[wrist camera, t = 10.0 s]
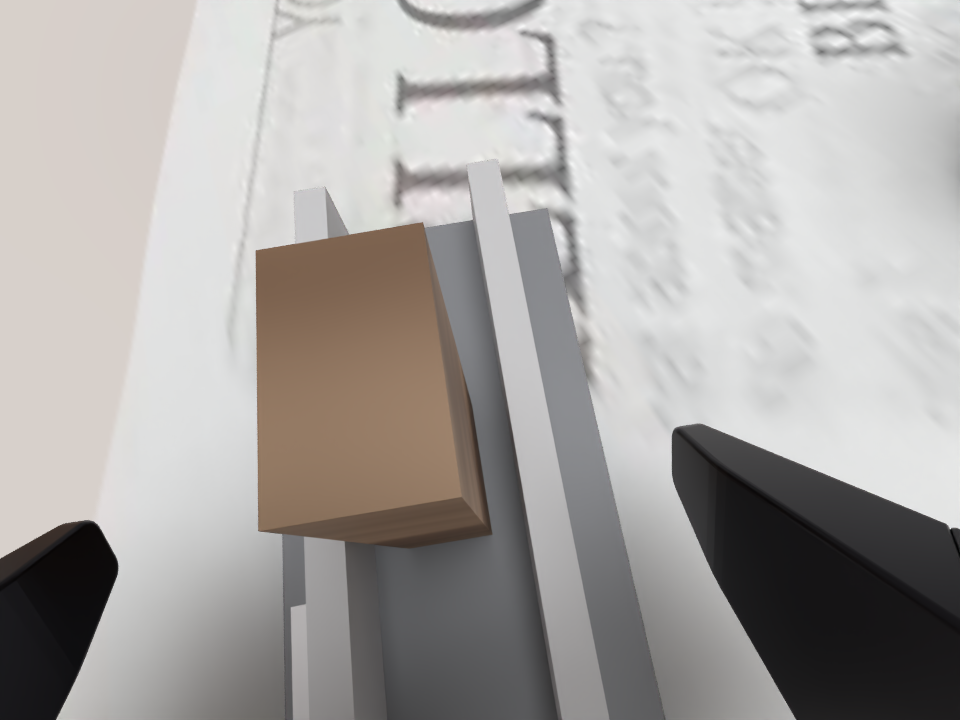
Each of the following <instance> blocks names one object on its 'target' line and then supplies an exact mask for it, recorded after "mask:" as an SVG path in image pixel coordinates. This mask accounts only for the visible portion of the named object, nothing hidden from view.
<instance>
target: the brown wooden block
mask: <svg viewBox="0 0 960 720" xmlns="http://www.w3.org/2000/svg"><path fill="white" fill-rule="evenodd" d="M256 327H257V430H258V531H261V532H270V533H278V534H287V535H296V536H304V537H313V538H321V539H330V540H339V541H347V542H356V543H364V544H373V545H381V546H390V547H399V548H407V549H410V548H416V547H422V546H428V545H434V544H440V543H446V542H452V541H458V540H464V539H470V538H476V537H481V536H487V535H493V534H492V528H491V522H490V515H489V509H488V503H487V496H486V490H485V484H484V477H483V471H482V465H481V458H480V452H479V446H478V439H477V433H476V426H475V420H474V414H473V407H472V403H471V399H470V395H469V392H468V388H467V384H466V381H465V377H464V373H463V369H462V366H461V362H460V358H459V355H458V351H457V347H456V343H455V340H454V336H453V332H452V329H451V325H450V321H449V317H448V314H447V310H446V306H445V303H444V299H443V295H442V291H441V288H440V284H439V280H438V277H437V273H436V269H435V265H434V262H433V258H432V254H431V251H430V247H429V243H428V239H427V236H426V232H425V228H424V225H423V222H422V223H416V224H410V225H404V226H398V227H393V228H387V229H381V230H375V231H369V232H363V233H357V234H351V235H345V236H339V237H333V238H327V239H321V240H315V241H309V242H303V243H298V244H292V245H286V246H280V247H274V248H268V249H262V250H256Z"/></svg>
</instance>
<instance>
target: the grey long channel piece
mask: <svg viewBox="0 0 960 720" xmlns="http://www.w3.org/2000/svg"><path fill="white" fill-rule="evenodd" d="M466 165H467V173H468V181H469V190H470V198H471V206H472V215H473V220H471V221H465V222H459V223H452V224H446V225H440V226H434V227H427V228H425V232H426V236H427V239H428V243H429V247H430V251H431V254H432V258H433V262H434V265H435V269H436V273H437V277H438V280H439V284H440V288H441V291H442V295H443V299H444V303H445V306H446V310H447V314H448V317H449V321H450V325H451V329H452V332H453V336H454V340H455V343H456V347H457V351H458V355H459V358H460V362H461V366H462V369H463V373H464V377H465V381H466V384H467V388H468V392H469V395H470V399H471V403H472V407H473V414H474V420H475V426H476V433H477V439H478V446H479V452H480V458H481V465H482V471H483V477H484V484H485V490H486V496H487V503H488V509H489V515H490V522H491V528H492V534H493V535H487V536H481V537H476V538H470V539H464V540H458V541H452V542H446V543H440V544H434V545H428V546H422V547H416V548H410V549H407V548H399V547H390V546H381V545H373V544H364V543H356V542H347V541H339V540H330V539H321V538H313V537H304V536H296V535H287V534H282V536H283V598H284V660H285V720H665V716H664V712H663V707H662V703H661V699H660V694H659V690H658V686H657V681H656V677H655V673H654V668H653V664H652V660H651V655H650V651H649V647H648V642H647V638H646V634H645V629H644V625H643V621H642V616H641V612H640V608H639V603H638V599H637V595H636V590H635V586H634V582H633V577H632V573H631V569H630V564H629V560H628V556H627V551H626V547H625V543H624V538H623V534H622V530H621V525H620V521H619V517H618V512H617V508H616V504H615V499H614V495H613V491H612V486H611V482H610V478H609V473H608V469H607V465H606V460H605V456H604V452H603V447H602V443H601V439H600V434H599V430H598V426H597V421H596V417H595V413H594V408H593V404H592V400H591V395H590V391H589V387H588V382H587V378H586V374H585V369H584V365H583V361H582V356H581V352H580V348H579V343H578V339H577V335H576V330H575V326H574V322H573V317H572V313H571V309H570V304H569V300H568V296H567V291H566V287H565V283H564V278H563V274H562V270H561V265H560V261H559V257H558V252H557V248H556V244H555V239H554V235H553V230H552V226H551V222H550V217H549V213H548V209H547V208H546V209H540V210H533V211H527V212H521V213H515V214H509V212H508V207H507V202H506V197H505V192H504V187H503V182H502V177H501V172H500V167H499V162H498V159H493V160H487V161H480V162H474V163H468V164H466ZM294 218H295V244H298V243H303V242H309V241H315V240H321V239H327V238H333V237H339V236H345V235H349V233H348V231H347V229H346V227H345V225H344V223H343V221H342V219H341V217H340V215H339V213H338V211H337V209H336V207H335V205H334V203H333V201H332V199H331V197H330V195H329V193H328V191H327V189H326V187H319V188H313V189H306V190H300V191H294Z"/></svg>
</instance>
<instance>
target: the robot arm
mask: <svg viewBox="0 0 960 720" xmlns="http://www.w3.org/2000/svg"><path fill="white" fill-rule="evenodd" d="M672 477H673V482H674V485H675V488H676V490H677V493H678V495H679V497H680V500H681V502H682V504H683V506H684V509H685V511H686V513H687V516H688V518H689V520H690V523H691V525H692V527H693V530H694V532H695V534H696V537H697V539H698V541H699V543H700V546H701V548H702V550H703V553H704V555H705V557H706V560H707V562H708V564H709V566H710V568H711V571H712V573H713V575H714V577H715V578H716V580H717V582H718V584H719V586H720V588H721V590H722V591H723V593H724V595H725V597H726V598H727V600H728V602H729V603H730V605H731V607H732V609H733V610H734V612H735V614H736V616H737V617H738V619H739V621H740V623H741V624H742V626H743V628H744V630H745V631H746V633H747V635H748V637H749V638H750V640H751V642H752V644H753V645H754V647H755V649H756V651H757V652H758V654H759V656H760V657H761V659H762V661H763V663H764V664H765V666H766V668H767V670H768V671H769V673H770V675H771V677H772V678H773V680H774V682H775V684H776V685H777V687H778V689H779V691H780V692H781V694H782V696H783V698H784V699H785V701H786V703H787V705H788V706H789V708H790V710H791V711H792V713H793V715H794V717H795V718H796V720H960V529H958V528H951V529H949V527H948V525H947V524H945V523H943V522H940V521H938V520H935V519H933V518H930V517H928V516H926V515H923V514H921V513H918V512H916V511H913V510H911V509H908V508H906V507H904V506H901V505H899V504H896V503H894V502H891V501H889V500H887V499H884V498H882V497H879V496H877V495H874V494H872V493H869V492H867V491H865V490H862V489H860V488H857V487H855V486H852V485H850V484H847V483H845V482H843V481H840V480H838V479H835V478H833V477H830V476H828V475H825V474H823V473H821V472H818V471H816V470H813V469H811V468H808V467H806V466H804V465H801V464H799V463H796V462H794V461H791V460H789V459H786V458H784V457H782V456H779V455H777V454H774V453H772V452H769V451H767V450H764V449H762V448H760V447H757V446H755V445H752V444H750V443H747V442H745V441H743V440H740V439H738V438H735V437H733V436H730V435H728V434H725V433H723V432H721V431H718V430H716V429H713V428H711V427H708V426H706V425H703V424H692V425H686V426H680V427H676V428H675V429H674V430H673V433H672ZM117 575H118V561H117V558H116V556H115V554H114V552H113V551H112V549H111V547H110V545H109V543H108V541H107V540H106V538H105V536H104V534H103V532H102V531H101V529H100V527H99V526H98V524H96V523H95V522H93V521H90V520H84V521H78V522H71V523H65V524H62V525H60V526H58V527H56V528H54V529H52V530H51V531H49V532H47V533H45V534H43V535H42V536H40V537H38V538H36V539H34V540H33V541H31V542H29V543H27V544H26V545H24V546H22V547H20V548H19V549H17V550H15V551H13V552H11V553H9V554H8V555H6V556H4V557H3V558H1V559H0V720H56V719H57V717H58V715H59V713H60V711H61V709H62V707H63V705H64V703H65V701H66V699H67V697H68V695H69V693H70V691H71V688H72V686H73V684H74V682H75V680H76V678H77V676H78V674H79V671H80V669H81V666H82V664H83V662H84V659H85V657H86V654H87V652H88V649H89V647H90V644H91V642H92V639H93V637H94V634H95V631H96V629H97V626H98V624H99V621H100V619H101V616H102V614H103V611H104V609H105V606H106V603H107V601H108V598H109V596H110V593H111V591H112V588H113V586H114V583H115V581H116V578H117Z"/></svg>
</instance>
